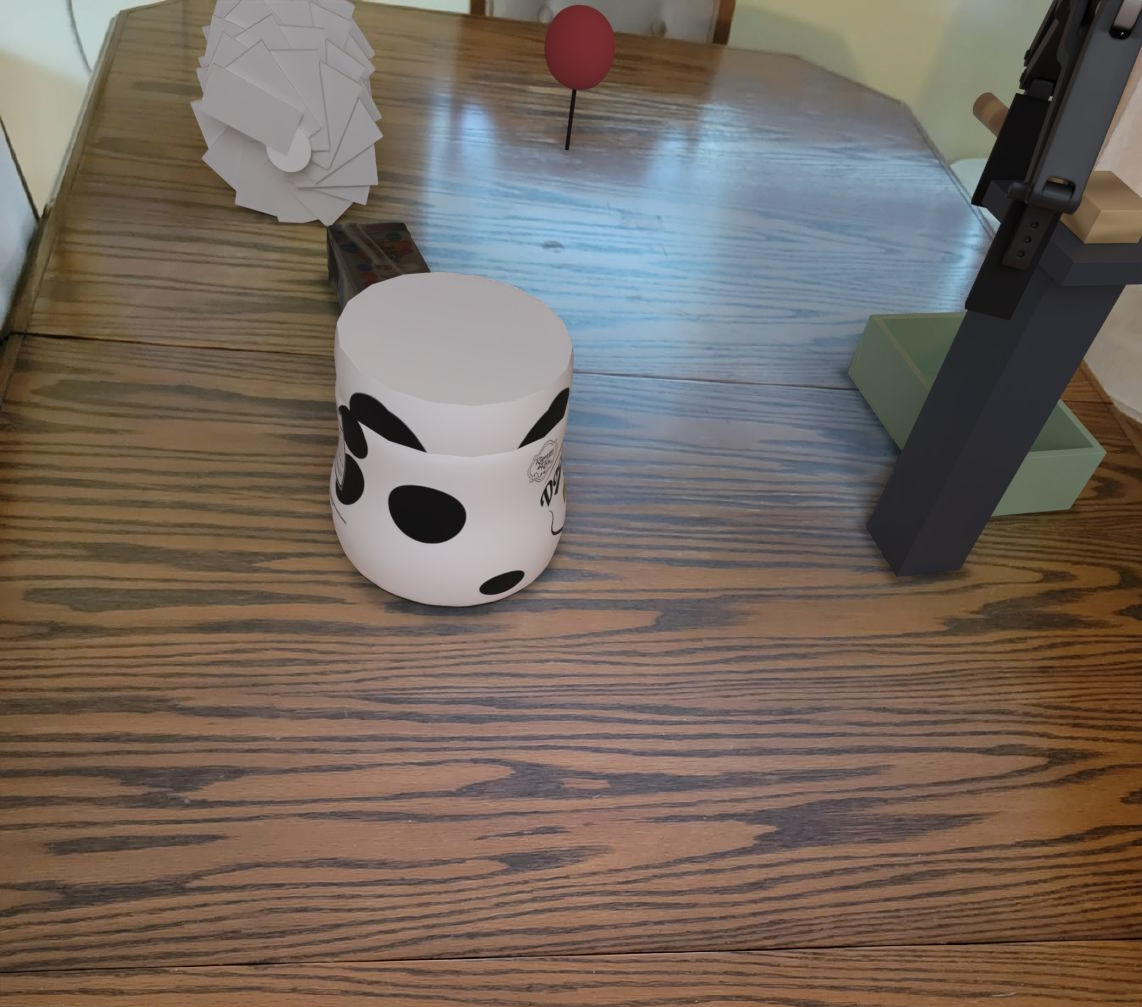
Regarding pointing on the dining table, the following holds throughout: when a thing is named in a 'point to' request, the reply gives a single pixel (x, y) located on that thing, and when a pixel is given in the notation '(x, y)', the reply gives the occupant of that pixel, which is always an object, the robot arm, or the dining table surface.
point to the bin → (904, 379)
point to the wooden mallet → (1105, 200)
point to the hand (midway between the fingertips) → (988, 257)
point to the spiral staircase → (289, 106)
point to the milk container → (450, 437)
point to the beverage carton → (369, 256)
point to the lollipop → (579, 51)
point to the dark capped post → (995, 399)
